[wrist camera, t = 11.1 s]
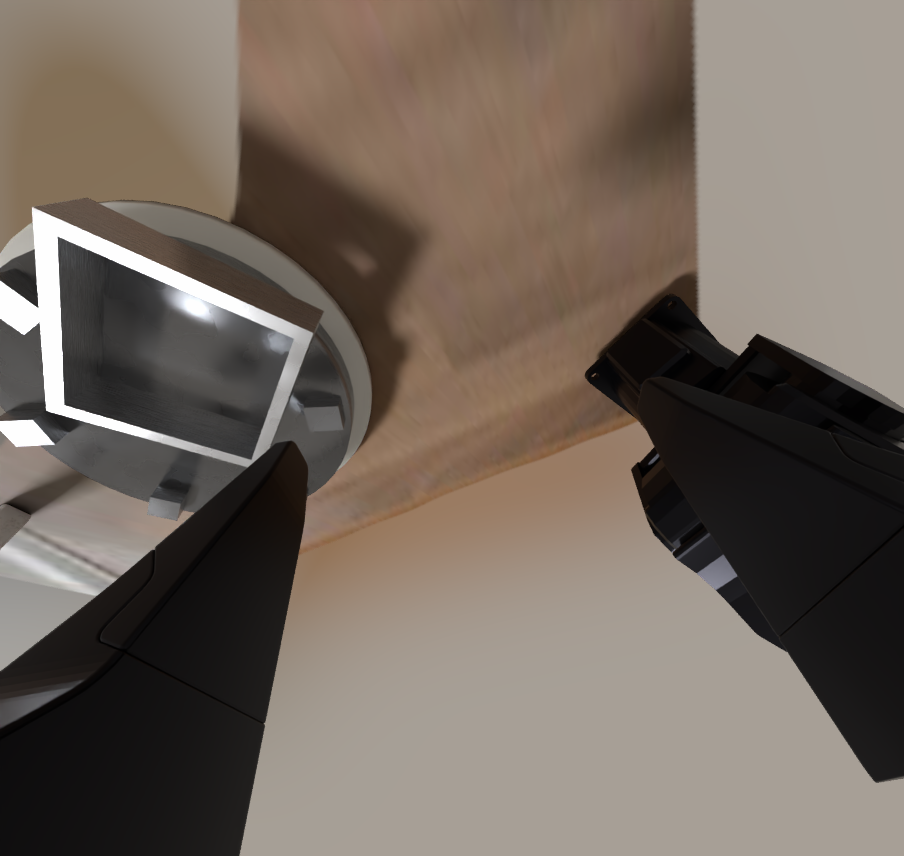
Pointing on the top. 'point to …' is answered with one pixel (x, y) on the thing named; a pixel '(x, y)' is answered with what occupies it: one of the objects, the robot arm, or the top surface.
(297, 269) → the base plate
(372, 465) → the top surface
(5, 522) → the wrench
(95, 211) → the grey tabbed disc
